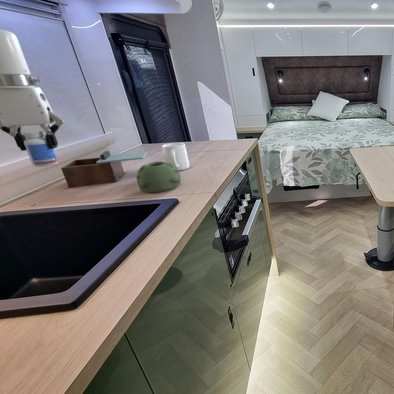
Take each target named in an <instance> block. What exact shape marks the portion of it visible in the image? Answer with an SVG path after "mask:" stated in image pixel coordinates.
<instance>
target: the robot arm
mask: <svg viewBox="0 0 394 394" xmlns="http://www.w3.org/2000/svg"><path fill="white" fill-rule="evenodd" d="M40 83H41V80H40V78H39V77H35V76H33V74H31V71H30V68H29V66H28V63H27V60H26V58H25V55H24V52H23V49H22V47H21V44H20V41H19V39H18V37H17V35H16V34H15V33H14V32H12V31H9V30H6V29H0V130H1V131H3V132H4V133H6V134H8V135H9V136H11V137H12V138H13V139H14V142H15V144H16V146H17V148H19V150H20V151H21V152H25V151H27V150H26V147H25V145H24V141H25V140H27V138H26V137H25V136H24V134H23V133H22V128H23V127H24V126H39V127H40V128H41V129H42V131H43V132H44V133H45V134H46V135H45V136H44V137H45V138H46V140H47V143H48V146H49V148H50V149H53V150H55V149H57V148H58V145H59V143H58V139H57V137H56V133H57V131H58V130H59V129H60V128H61V127H62V126H63V125H64V124H65V123H66V121H65V119H64V118H62V117H60V116H59V115H57V114H56V113H54V111H53V109H52V106H51V105H50V102H49V100H48V99H47V97H46V95H45V93H44V92H43V90H42V89H41V87H36V84H40ZM53 123H54V124H53ZM52 124H53V125H52ZM22 126H23V127H22Z"/></svg>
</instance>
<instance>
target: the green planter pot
mask: <svg viewBox="0 0 394 394" xmlns="http://www.w3.org/2000/svg"><path fill="white" fill-rule="evenodd" d="M181 179H182V177H181V174H180V171H178V170H177V169H176V168H175V167H174V166H173V165H172V164H170V163H169V162H166V161H156V160H155V161H154V162H149V163H146V164H144V165H142V166H141V167H140V168H139V169H138V171H137V175H136V183H137V186H138V187H139V189H140V190H141V191H143V192H145V193H163V192H167V191H171V190H174V189H175V188H177V187H179V185H180V184H181V182H182V180H181Z"/></svg>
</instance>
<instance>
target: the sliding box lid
mask: <svg viewBox="0 0 394 394" xmlns="http://www.w3.org/2000/svg"><path fill="white" fill-rule="evenodd" d="M148 153H149V150H141V151H131V152H130V151H129V152H128V151H127V152H119V153H118V152H117V153H110V151H109V150H105V151H103V152H102V153H101V154H100V155H99V157H101V159H99V160H98V161H97V162H96V163H97V164H98V163H108V162H118V161H121V162H127V161H136V160H137V161H138V160H143V159H144V158H145V157H146V155H147V154H148Z"/></svg>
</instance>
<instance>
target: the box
mask: <svg viewBox="0 0 394 394" xmlns="http://www.w3.org/2000/svg"><path fill="white" fill-rule="evenodd" d="M99 159H101V157H100V156H99V157H90V158H79V159H74V160H72V161H70V162H69V163H67V164H65V165H64V166H61V168H60V170H61V173H62V174H63V177H64V180H65V182H66V185H67V188H69V189H70V188H71V189H72V188H78V187H79V188H80V187H86V186H87V187H88V186H95V185H104V184H112V183H117V182H118V181H119V180H120V179H121V178H122V176H123V175H124V174H125V170H124V167H123V164H122V161H118V162H108V163H98V164H97V163H96V162H97V161H98V160H99Z"/></svg>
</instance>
